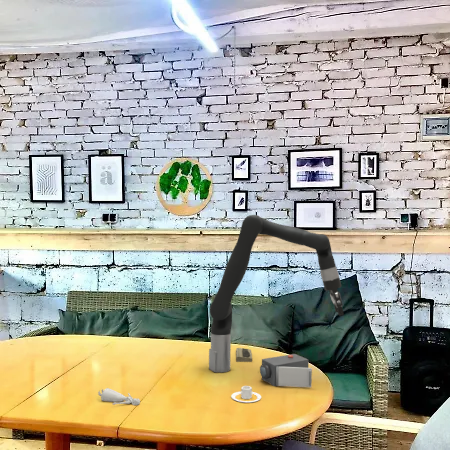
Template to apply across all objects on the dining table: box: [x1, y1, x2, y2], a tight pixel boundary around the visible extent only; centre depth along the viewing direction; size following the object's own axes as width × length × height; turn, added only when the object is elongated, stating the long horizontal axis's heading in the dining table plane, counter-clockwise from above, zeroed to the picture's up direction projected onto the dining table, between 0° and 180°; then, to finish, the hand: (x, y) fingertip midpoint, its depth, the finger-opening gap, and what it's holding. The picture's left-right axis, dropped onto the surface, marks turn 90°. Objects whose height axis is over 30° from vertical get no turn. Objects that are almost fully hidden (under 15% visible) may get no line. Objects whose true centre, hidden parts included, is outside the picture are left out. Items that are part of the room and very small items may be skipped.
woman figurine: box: [98, 387, 141, 406], centre depth 197 cm, size 12×4×18 cm
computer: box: [235, 347, 253, 363], centre depth 256 cm, size 16×8×3 cm, turn 179°
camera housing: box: [259, 353, 309, 387], centre depth 222 cm, size 20×10×10 cm, turn 119°
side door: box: [275, 366, 313, 388], centre depth 213 cm, size 15×2×8 cm, turn 84°
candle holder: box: [231, 385, 262, 403], centre depth 202 cm, size 12×12×4 cm
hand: (339, 313), depth 223 cm, fingers open, 8 cm apart
